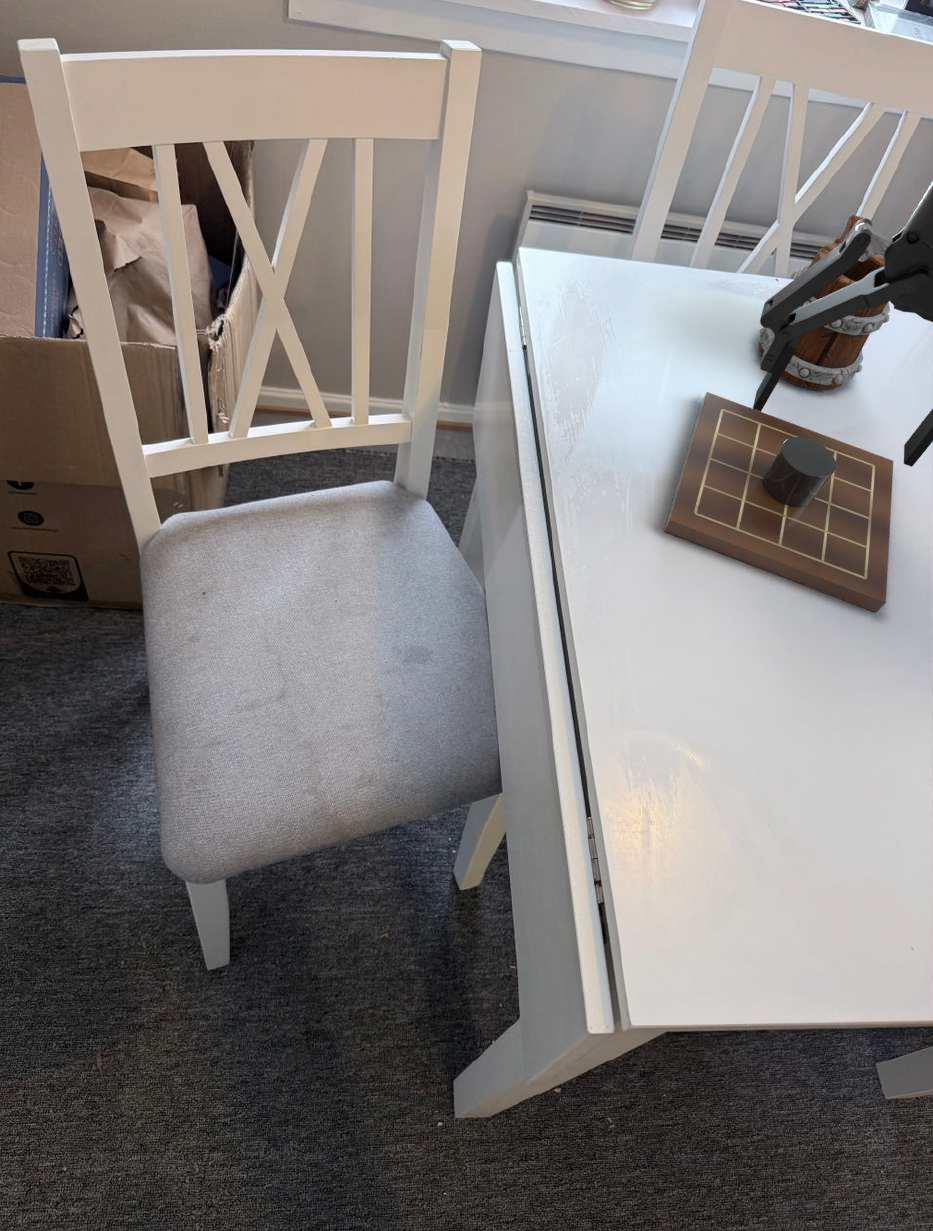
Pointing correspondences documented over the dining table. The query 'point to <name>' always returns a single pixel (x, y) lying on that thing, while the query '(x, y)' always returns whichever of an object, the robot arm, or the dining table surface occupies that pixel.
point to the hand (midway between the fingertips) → (832, 428)
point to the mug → (833, 331)
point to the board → (775, 532)
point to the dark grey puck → (799, 471)
